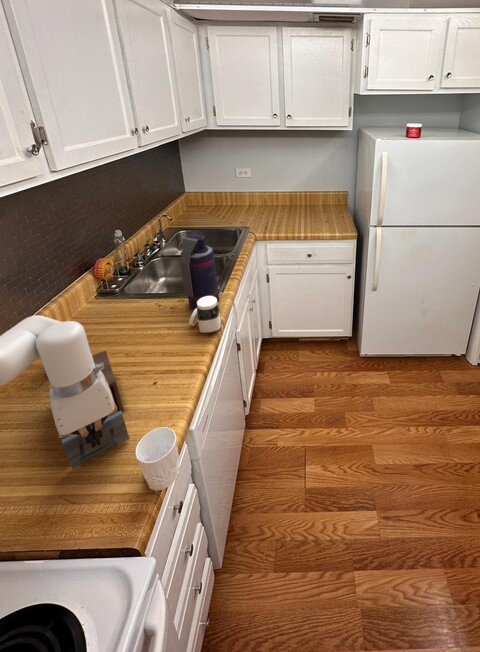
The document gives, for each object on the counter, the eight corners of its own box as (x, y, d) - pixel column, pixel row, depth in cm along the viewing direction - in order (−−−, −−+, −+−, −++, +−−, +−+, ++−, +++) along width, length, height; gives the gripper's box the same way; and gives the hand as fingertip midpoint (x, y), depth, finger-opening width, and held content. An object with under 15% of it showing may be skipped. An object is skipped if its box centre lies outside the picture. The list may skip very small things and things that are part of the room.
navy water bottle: (202, 293, 143) (193, 228, 132) (225, 299, 139) (217, 233, 128) (179, 311, 131) (167, 241, 120) (203, 317, 127) (193, 247, 116)
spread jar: (221, 335, 118) (217, 307, 114) (187, 340, 115) (182, 312, 111) (221, 315, 129) (218, 289, 124) (191, 319, 126) (186, 293, 122)
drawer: (134, 453, 78) (126, 428, 74) (74, 487, 71) (63, 461, 68) (118, 401, 91) (111, 378, 88) (67, 426, 84) (57, 401, 81)
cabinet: (124, 410, 89) (115, 381, 85) (66, 439, 82) (54, 408, 78) (113, 377, 100) (105, 350, 96) (61, 399, 92) (50, 371, 89)
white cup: (160, 501, 69) (151, 470, 66) (136, 481, 73) (127, 450, 69) (190, 467, 76) (183, 437, 72) (167, 451, 79) (160, 421, 75)
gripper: (113, 352, 74) (129, 411, 81) (27, 385, 66) (53, 448, 72) (120, 372, 69) (136, 434, 76) (27, 411, 60) (55, 477, 67)
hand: (95, 441), depth 74 cm, fingers closed
